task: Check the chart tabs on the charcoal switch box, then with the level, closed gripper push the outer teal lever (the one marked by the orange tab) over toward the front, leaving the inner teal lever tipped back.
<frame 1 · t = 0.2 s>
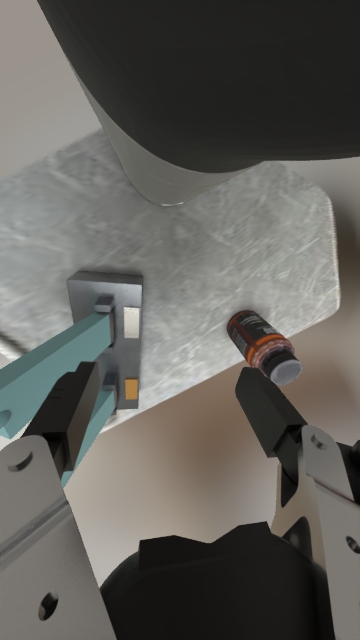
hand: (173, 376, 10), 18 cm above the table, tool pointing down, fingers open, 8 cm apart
switch box: (115, 342, 29), on the table
outer lever: (82, 435, 22), point 11 cm above the table, hinge at 22.0°
inner lever: (65, 357, 16), point 11 cm above the table, hinge at 22.0°
supplement bottle: (242, 324, 31), on the table
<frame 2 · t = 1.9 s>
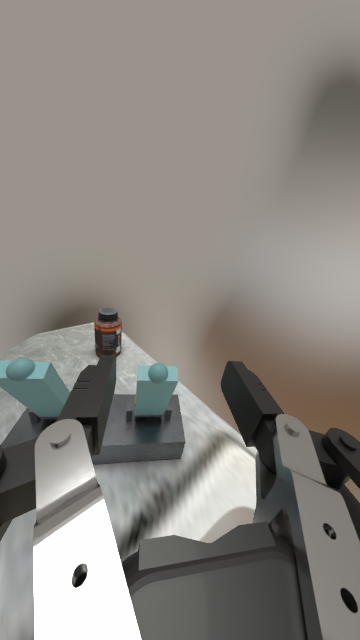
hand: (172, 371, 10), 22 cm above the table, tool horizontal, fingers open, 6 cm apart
switch box: (107, 434, 28), on the table
outer lever: (152, 394, 23), point 11 cm above the table, hinge at 22.0°
inner lever: (44, 394, 20), point 11 cm above the table, hinge at 22.0°
supplement bottle: (108, 352, 46), on the table
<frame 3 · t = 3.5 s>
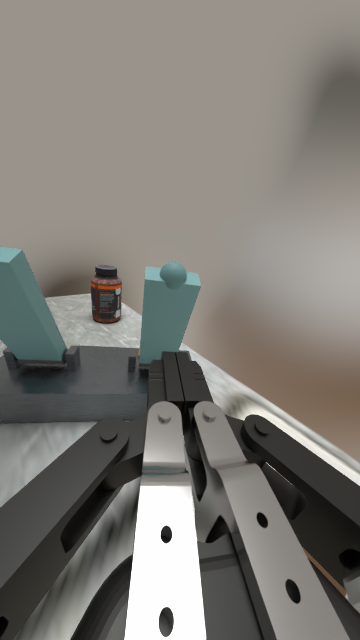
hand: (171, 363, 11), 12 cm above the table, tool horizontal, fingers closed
switch box: (104, 391, 23), on the table
outer lever: (162, 327, 18), point 11 cm above the table, hinge at 22.0°
inner lever: (20, 317, 15), point 11 cm above the table, hinge at 22.0°
supplement bottle: (107, 318, 41), on the table
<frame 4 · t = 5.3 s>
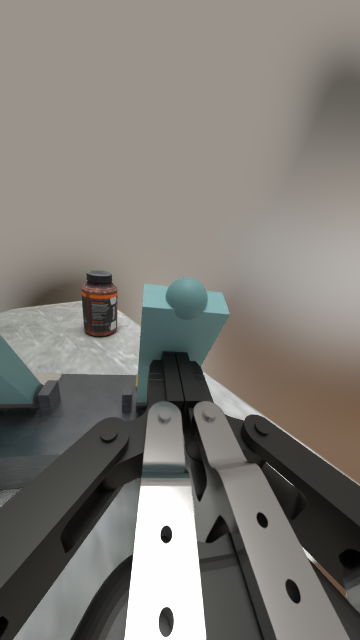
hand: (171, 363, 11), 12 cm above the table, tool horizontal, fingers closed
switch box: (93, 433, 18), on the table
outer lever: (167, 362, 13), point 11 cm above the table, hinge at 21.7°, touching gripper
supplement bottle: (101, 330, 36), on the table
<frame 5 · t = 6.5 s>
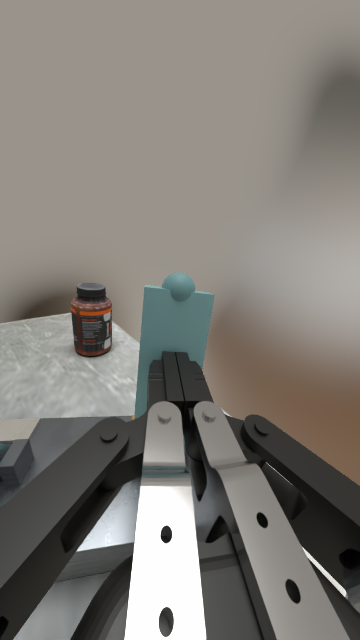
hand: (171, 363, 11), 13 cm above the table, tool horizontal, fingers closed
switch box: (77, 496, 15), on the table
outer lever: (167, 378, 12), point 11 cm above the table, hinge at -10.9°, touching gripper
supplement bottle: (94, 348, 33), on the table
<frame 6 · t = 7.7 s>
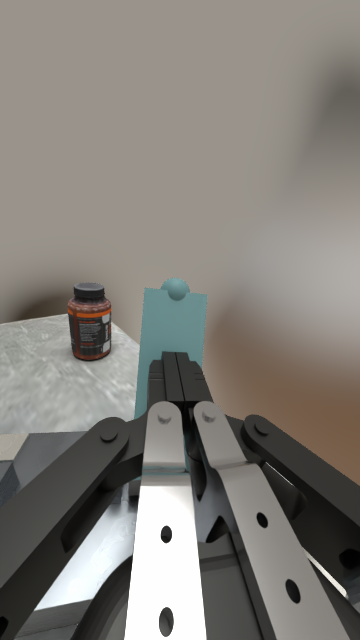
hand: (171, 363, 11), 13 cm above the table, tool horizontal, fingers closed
switch box: (68, 522, 13), on the table
outer lever: (168, 382, 12), point 11 cm above the table, hinge at -25.3°, touching gripper
supplement bottle: (92, 351, 31), on the table
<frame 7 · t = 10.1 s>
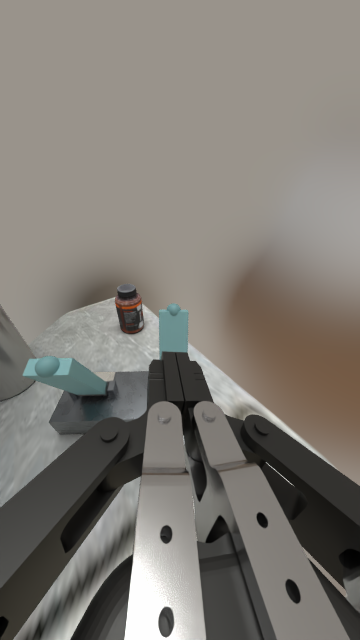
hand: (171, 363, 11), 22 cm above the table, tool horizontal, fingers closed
switch box: (137, 405, 31), on the table
outer lever: (173, 350, 27), point 11 cm above the table, hinge at -25.3°
inner lever: (76, 380, 22), point 11 cm above the table, hinge at 22.0°
supplement bottle: (132, 327, 47), on the table
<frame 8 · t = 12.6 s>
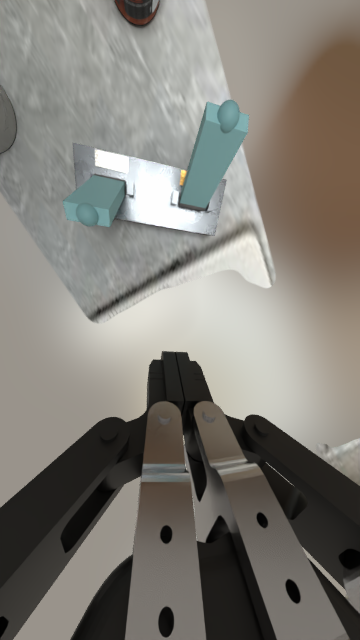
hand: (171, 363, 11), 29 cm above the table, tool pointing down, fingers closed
switch box: (153, 199, 31), on the table
outer lever: (205, 170, 22), point 11 cm above the table, hinge at -25.3°
inner lever: (101, 197, 22), point 11 cm above the table, hinge at 22.0°
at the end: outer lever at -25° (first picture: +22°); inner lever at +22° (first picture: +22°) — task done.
